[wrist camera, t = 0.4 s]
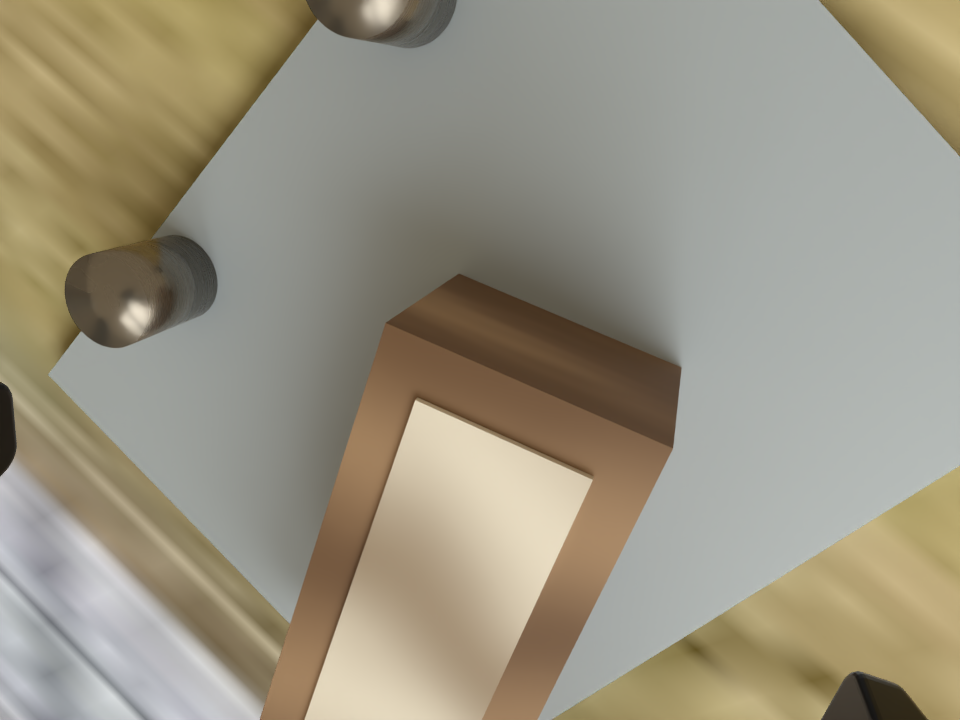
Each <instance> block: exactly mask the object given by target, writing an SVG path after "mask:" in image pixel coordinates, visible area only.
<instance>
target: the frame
mask: <svg viewBox="0 0 960 720" xmlns="http://www.w3.org/2000/svg"><path fill="white" fill-rule="evenodd" d="M681 369H682V367H679V366H677V365H675V364H672V363H670V362H667V361H665V360H663V359H660V358H658V357H656V356H653V355H651V354H648V353H646V352H644V351H641V350H639V349H637V348H634V347H632V346H630V345H627V344H625V343H622V342H620V341H618V340H615V339H613V338H611V337H608V336H606V335H603V334H601V333H599V332H596V331H594V330H592V329H589V328H587V327H585V326H582V325H580V324H577V323H575V322H573V321H570V320H568V319H566V318H563V317H561V316H558V315H556V314H554V313H551V312H549V311H547V310H544V309H542V308H540V307H537V306H535V305H532V304H530V303H528V302H525V301H523V300H521V299H518V298H516V297H513V296H511V295H509V294H506V293H504V292H502V291H499V290H497V289H495V288H492V287H490V286H487V285H485V284H483V283H480V282H478V281H476V280H473V279H471V278H468V277H466V276H464V275H461V274H457V275H456V276H454V277H453V278H451V279H450V280H448V281H447V282H445V283H444V284H442V285H441V286H440V287H438V288H437V289H435V290H434V291H432V292H431V293H429V294H428V295H426V296H425V297H423V298H422V299H420V300H419V301H417V302H416V303H414V304H413V305H411V306H410V307H408V308H407V309H405V310H404V311H402V312H401V313H399V314H398V315H396V316H395V317H393V318H392V319H390V320H389V321H387V322H386V323H385V326H384V329H383V332H382V336H381V339H380V342H379V345H378V348H377V351H376V354H375V358H374V361H373V364H372V367H371V370H370V373H369V377H368V380H367V383H366V386H365V389H364V392H363V395H362V399H361V402H360V405H359V408H358V411H357V414H356V418H355V421H354V424H353V427H352V430H351V433H350V437H349V440H348V443H347V446H346V449H345V452H344V455H343V459H342V462H341V465H340V468H339V471H338V474H337V478H336V481H335V484H334V487H333V490H332V493H331V496H330V500H329V503H328V506H327V509H326V512H325V515H324V519H323V522H322V525H321V528H320V531H319V534H318V537H317V541H316V544H315V547H314V550H313V553H312V556H311V560H310V563H309V566H308V569H307V572H306V575H305V579H304V582H303V585H302V588H301V591H300V594H299V597H298V601H297V604H296V607H295V610H294V613H293V616H292V620H291V623H290V626H289V629H288V632H287V635H286V638H285V642H284V645H283V648H282V651H281V654H280V657H279V661H278V664H277V667H276V670H275V673H274V676H273V679H272V683H271V686H270V689H269V692H268V695H267V698H266V702H265V705H264V708H263V711H262V714H261V717H260V720H538V718H539V716H540V714H541V712H542V710H543V708H544V706H545V704H546V702H547V700H548V698H549V696H550V694H551V692H552V690H553V688H554V686H555V684H556V682H557V680H558V678H559V676H560V674H561V672H562V670H563V668H564V666H565V664H566V662H567V660H568V658H569V656H570V654H571V652H572V650H573V648H574V646H575V644H576V642H577V640H578V638H579V636H580V634H581V632H582V630H583V628H584V626H585V624H586V622H587V620H588V618H589V616H590V614H591V612H592V610H593V608H594V606H595V604H596V602H597V600H598V598H599V596H600V594H601V592H602V590H603V588H604V586H605V584H606V582H607V580H608V578H609V576H610V574H611V572H612V570H613V568H614V566H615V564H616V562H617V560H618V558H619V556H620V554H621V552H622V550H623V548H624V546H625V544H626V542H627V540H628V538H629V536H630V534H631V532H632V530H633V528H634V526H635V524H636V522H637V520H638V518H639V516H640V514H641V512H642V510H643V508H644V506H645V504H646V502H647V500H648V498H649V496H650V494H651V492H652V490H653V488H654V486H655V484H656V482H657V480H658V478H659V476H660V474H661V472H662V470H663V468H664V466H665V464H666V462H667V460H668V458H669V456H670V454H671V452H672V450H673V445H674V436H675V426H676V417H677V407H678V398H679V388H680V379H681Z"/></svg>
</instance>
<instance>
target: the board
mask: <svg viewBox="0 0 960 720" xmlns="http://www.w3.org/2000/svg"><path fill="white" fill-rule="evenodd" d="M168 235H180V236H184V237H186V238H189V239H191V240H193V241H194V242H196V243H197V244H198V245H199V246H201V247H202V248H203V249H204V251H205V252H206V253H207V254H208V256H209V257H210V259H211V261H212V263H213V265H214V267H215V271H216V274H217V282H218V287H217V294H216V298H215V301H214V302H213V304H212V306H211V307H210V309H209V310H208V311H207V312H205V313H204V314H203V315H201V316H199V317H197V318H194V319H192V320H189V321H187V322H184V323H182V324H180V325H177V326H175V327H172V328H170V329H168V330H165V331H163V332H160V333H158V334H155V335H153V336H151V337H148V338H146V339H143V340H141V341H139V342H136V343H134V344H131V345H129V346H126V347H123V348H109V347H105V346H102V345H100V344H97V343H96V342H94V341H92V340H91V339H89V338H88V337H87V336H86V335H85V334H84V333H83V332H82V331H81V332H80V333H79V335H78V336H77V337H76V339H75V340H74V341H73V343H72V344H71V345H70V346H69V348H68V349H67V350H66V352H65V353H64V354H63V356H62V357H61V358H60V360H59V361H58V362H57V364H56V365H55V366H54V368H53V369H52V370H51V372H50V373H49V374H48V375H49V376H50V377H51V378H52V379H53V380H54V381H55V382H56V383H57V384H58V385H59V386H60V388H61V389H62V390H63V391H64V392H65V393H66V394H67V395H68V396H69V397H70V398H71V399H72V400H73V401H74V402H75V403H76V404H77V405H78V406H79V407H80V408H81V409H82V410H83V411H84V412H85V413H86V414H87V415H88V416H89V417H90V418H91V419H92V421H93V422H94V423H95V424H96V425H97V426H98V427H99V428H100V429H101V430H102V431H103V432H104V433H105V434H106V435H107V436H108V437H109V438H110V439H111V440H112V441H113V442H114V443H115V444H116V445H117V446H118V447H119V448H120V449H121V450H122V451H123V452H124V453H125V455H126V456H127V457H128V458H129V459H130V460H131V461H132V462H133V463H134V464H135V465H136V466H137V467H138V468H139V469H140V470H141V471H142V472H143V473H144V474H145V475H146V476H147V477H148V478H149V479H150V480H151V481H152V482H153V483H154V484H155V485H156V486H157V487H158V489H159V490H160V491H161V492H162V493H163V494H164V495H165V496H166V497H167V498H168V499H169V500H170V501H171V502H172V503H173V504H174V505H175V506H176V507H177V508H178V509H179V510H180V511H181V512H182V513H183V514H184V515H185V516H186V517H187V518H188V519H189V520H190V522H191V523H192V524H193V525H194V526H195V527H196V528H197V529H198V530H199V531H200V532H201V533H202V534H203V535H204V536H205V537H206V538H207V539H208V540H209V541H210V542H211V543H212V544H213V545H214V546H215V547H216V548H217V549H218V550H219V551H220V552H221V553H222V554H223V556H224V557H225V558H226V559H227V560H228V561H229V562H230V563H231V564H232V565H233V566H234V567H235V568H236V569H237V570H238V571H239V572H240V573H241V574H242V575H243V576H244V577H245V578H246V579H247V580H248V581H249V582H250V583H251V584H252V585H253V586H254V587H255V588H256V590H257V591H258V592H259V593H260V594H261V595H262V596H263V597H264V598H265V599H266V600H267V601H268V602H269V603H270V604H271V605H272V606H273V607H274V608H275V609H276V610H277V611H278V612H279V613H280V614H281V615H282V616H283V617H284V618H285V619H286V620H287V621H288V622H289V624H290V623H291V620H292V616H293V613H294V610H295V607H296V604H297V601H298V597H299V594H300V591H301V588H302V585H303V582H304V579H305V575H306V572H307V569H308V566H309V563H310V560H311V556H312V553H313V550H314V547H315V544H316V541H317V537H318V534H319V531H320V528H321V525H322V522H323V519H324V515H325V512H326V509H327V506H328V503H329V500H330V496H331V493H332V490H333V487H334V484H335V481H336V478H337V474H338V471H339V468H340V465H341V462H342V459H343V455H344V452H345V449H346V446H347V443H348V440H349V437H350V433H351V430H352V427H353V424H354V421H355V418H356V414H357V411H358V408H359V405H360V402H361V399H362V395H363V392H364V389H365V386H366V383H367V380H368V377H369V373H370V370H371V367H372V364H373V361H374V358H375V354H376V351H377V348H378V345H379V342H380V339H381V336H382V332H383V329H384V326H385V323H386V322H387V321H389V320H390V319H392V318H393V317H395V316H396V315H398V314H399V313H401V312H402V311H404V310H405V309H407V308H408V307H410V306H411V305H413V304H414V303H416V302H417V301H419V300H420V299H422V298H423V297H425V296H426V295H428V294H429V293H431V292H432V291H434V290H435V289H437V288H438V287H440V286H441V285H442V284H444V283H445V282H447V281H448V280H450V279H451V278H453V277H454V276H456V275H457V274H461V275H464V276H466V277H468V278H471V279H473V280H476V281H478V282H480V283H483V284H485V285H487V286H490V287H492V288H495V289H497V290H499V291H502V292H504V293H506V294H509V295H511V296H513V297H516V298H518V299H521V300H523V301H525V302H528V303H530V304H532V305H535V306H537V307H540V308H542V309H544V310H547V311H549V312H551V313H554V314H556V315H558V316H561V317H563V318H566V319H568V320H570V321H573V322H575V323H577V324H580V325H582V326H585V327H587V328H589V329H592V330H594V331H596V332H599V333H601V334H603V335H606V336H608V337H611V338H613V339H615V340H618V341H620V342H622V343H625V344H627V345H630V346H632V347H634V348H637V349H639V350H641V351H644V352H646V353H648V354H651V355H653V356H656V357H658V358H660V359H663V360H665V361H667V362H670V363H672V364H675V365H677V366H679V367H682V369H681V379H680V388H679V398H678V407H677V417H676V426H675V436H674V445H673V450H672V452H671V454H670V456H669V458H668V460H667V462H666V464H665V466H664V468H663V470H662V472H661V474H660V476H659V478H658V480H657V482H656V484H655V486H654V488H653V490H652V492H651V494H650V496H649V498H648V500H647V502H646V504H645V506H644V508H643V510H642V512H641V514H640V516H639V518H638V520H637V522H636V524H635V526H634V528H633V530H632V532H631V534H630V536H629V538H628V540H627V542H626V544H625V546H624V548H623V550H622V552H621V554H620V556H619V558H618V560H617V562H616V564H615V566H614V568H613V570H612V572H611V574H610V576H609V578H608V580H607V582H606V584H605V586H604V588H603V590H602V592H601V594H600V596H599V598H598V600H597V602H596V604H595V606H594V608H593V610H592V612H591V614H590V616H589V618H588V620H587V622H586V624H585V626H584V628H583V630H582V632H581V634H580V636H579V638H578V640H577V642H576V644H575V646H574V648H573V650H572V652H571V654H570V656H569V658H568V660H567V662H566V664H565V666H564V668H563V670H562V672H561V674H560V676H559V678H558V680H557V682H556V684H555V686H554V688H553V690H552V692H551V694H550V696H549V698H548V700H547V702H546V704H545V706H544V708H543V710H542V712H541V714H540V716H539V718H538V720H552V719H553V718H555V717H557V716H558V715H560V714H561V713H563V712H565V711H566V710H568V709H569V708H571V707H573V706H574V705H576V704H577V703H579V702H581V701H582V700H584V699H586V698H587V697H589V696H590V695H592V694H594V693H595V692H597V691H598V690H600V689H602V688H603V687H605V686H606V685H608V684H610V683H611V682H613V681H614V680H616V679H618V678H619V677H621V676H622V675H624V674H626V673H627V672H629V671H631V670H632V669H634V668H635V667H637V666H639V665H640V664H642V663H643V662H645V661H647V660H648V659H650V658H651V657H653V656H655V655H656V654H658V653H659V652H661V651H663V650H664V649H666V648H667V647H669V646H671V645H672V644H674V643H676V642H677V641H679V640H680V639H682V638H684V637H685V636H687V635H688V634H690V633H692V632H693V631H695V630H696V629H698V628H700V627H701V626H703V625H704V624H706V623H708V622H709V621H711V620H712V619H714V618H716V617H717V616H719V615H721V614H722V613H724V612H725V611H727V610H729V609H730V608H732V607H733V606H735V605H737V604H738V603H740V602H741V601H743V600H745V599H746V598H748V597H749V596H751V595H753V594H754V593H756V592H757V591H759V590H761V589H762V588H764V587H766V586H767V585H769V584H770V583H772V582H774V581H775V580H777V579H778V578H780V577H782V576H783V575H785V574H786V573H788V572H790V571H791V570H793V569H794V568H796V567H798V566H799V565H801V564H802V563H804V562H806V561H807V560H809V559H810V558H812V557H814V556H815V555H817V554H819V553H820V552H822V551H823V550H825V549H827V548H828V547H830V546H831V545H833V544H835V543H836V542H838V541H839V540H841V539H843V538H844V537H846V536H847V535H849V534H851V533H852V532H854V531H855V530H857V529H859V528H860V527H862V526H864V525H865V524H867V523H868V522H870V521H872V520H873V519H875V518H876V517H878V516H880V515H881V514H883V513H884V512H886V511H888V510H889V509H891V508H892V507H894V506H896V505H897V504H899V503H900V502H902V501H904V500H905V499H907V498H909V497H910V496H912V495H913V494H915V493H917V492H918V491H920V490H921V489H923V488H925V487H926V486H928V485H929V484H931V483H933V482H934V481H936V480H937V479H939V478H941V477H942V476H944V475H945V474H947V473H949V472H950V471H952V470H954V469H955V468H957V467H958V466H960V156H959V155H958V154H957V153H956V152H955V151H954V150H953V149H952V147H951V146H950V145H949V144H948V143H947V142H946V141H945V140H944V139H943V137H942V136H941V135H940V134H939V133H938V132H937V131H936V130H935V129H934V127H933V126H932V125H931V124H930V123H929V122H928V121H927V120H926V119H925V118H924V116H923V115H922V114H921V113H920V112H919V111H918V110H917V109H916V108H915V106H914V105H913V104H912V103H911V102H910V101H909V100H908V99H907V98H906V96H905V95H904V94H903V93H902V92H901V91H900V90H899V89H898V88H897V87H896V85H895V84H894V83H893V82H892V81H891V80H890V79H889V78H888V77H887V75H886V74H885V73H884V72H883V71H882V70H881V69H880V68H879V67H878V65H877V64H876V63H875V62H874V61H873V60H872V59H871V58H870V57H869V56H868V54H867V53H866V52H865V51H864V50H863V49H862V48H861V47H860V46H859V44H858V43H857V42H856V41H855V40H854V39H853V38H852V37H851V36H850V34H849V33H848V32H847V31H846V30H845V29H844V28H843V27H842V26H841V25H840V23H839V22H838V21H837V20H836V19H835V18H834V17H833V16H832V15H831V13H830V12H829V11H828V10H827V9H826V8H825V7H824V6H823V5H822V3H821V2H820V1H819V0H457V3H456V8H455V11H454V14H453V16H452V19H451V21H450V23H449V24H448V26H447V27H446V29H445V30H444V31H443V32H442V33H441V35H440V36H439V37H437V38H436V39H435V40H433V41H432V42H430V43H428V44H426V45H424V46H421V47H417V48H401V47H395V46H390V45H385V44H379V43H374V42H369V41H363V40H358V39H353V38H348V37H343V36H341V35H338V34H336V33H334V32H332V31H330V30H329V29H328V28H326V27H325V26H324V25H323V24H322V23H321V22H320V21H319V20H317V21H316V23H315V24H314V25H313V26H312V28H311V29H310V30H309V32H308V33H307V34H306V36H305V37H304V38H303V40H302V41H301V42H300V44H299V45H298V46H297V48H296V49H295V50H294V51H293V53H292V54H291V55H290V57H289V58H288V59H287V61H286V62H285V63H284V65H283V66H282V67H281V69H280V70H279V71H278V73H277V74H276V75H275V77H274V78H273V79H272V80H271V82H270V83H269V84H268V86H267V87H266V88H265V90H264V91H263V92H262V94H261V95H260V96H259V98H258V99H257V100H256V102H255V103H254V104H253V105H252V107H251V108H250V109H249V111H248V112H247V113H246V115H245V116H244V117H243V119H242V120H241V121H240V123H239V124H238V125H237V127H236V128H235V129H234V130H233V132H232V133H231V134H230V136H229V137H228V138H227V140H226V141H225V142H224V144H223V145H222V146H221V148H220V149H219V150H218V152H217V153H216V154H215V156H214V157H213V158H212V159H211V161H210V162H209V163H208V165H207V166H206V167H205V169H204V170H203V171H202V173H201V174H200V175H199V177H198V178H197V179H196V181H195V182H194V183H193V184H192V186H191V187H190V188H189V190H188V191H187V192H186V194H185V195H184V196H183V198H182V199H181V200H180V202H179V203H178V204H177V206H176V207H175V208H174V210H173V211H172V212H171V213H170V215H169V216H168V217H167V219H166V220H165V221H164V223H163V224H162V225H161V227H160V228H159V229H158V231H157V232H156V233H155V235H154V236H153V237H152V238H151V239H155V238H159V237H163V236H168Z"/></svg>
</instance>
